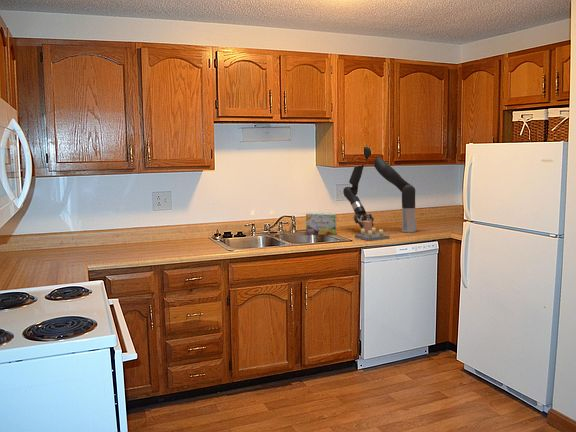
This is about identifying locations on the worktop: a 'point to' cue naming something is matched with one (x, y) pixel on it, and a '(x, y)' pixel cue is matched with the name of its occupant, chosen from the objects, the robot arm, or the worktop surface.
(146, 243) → the worktop surface
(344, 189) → the robot arm
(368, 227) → the terracotta block
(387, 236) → the chassis plate
